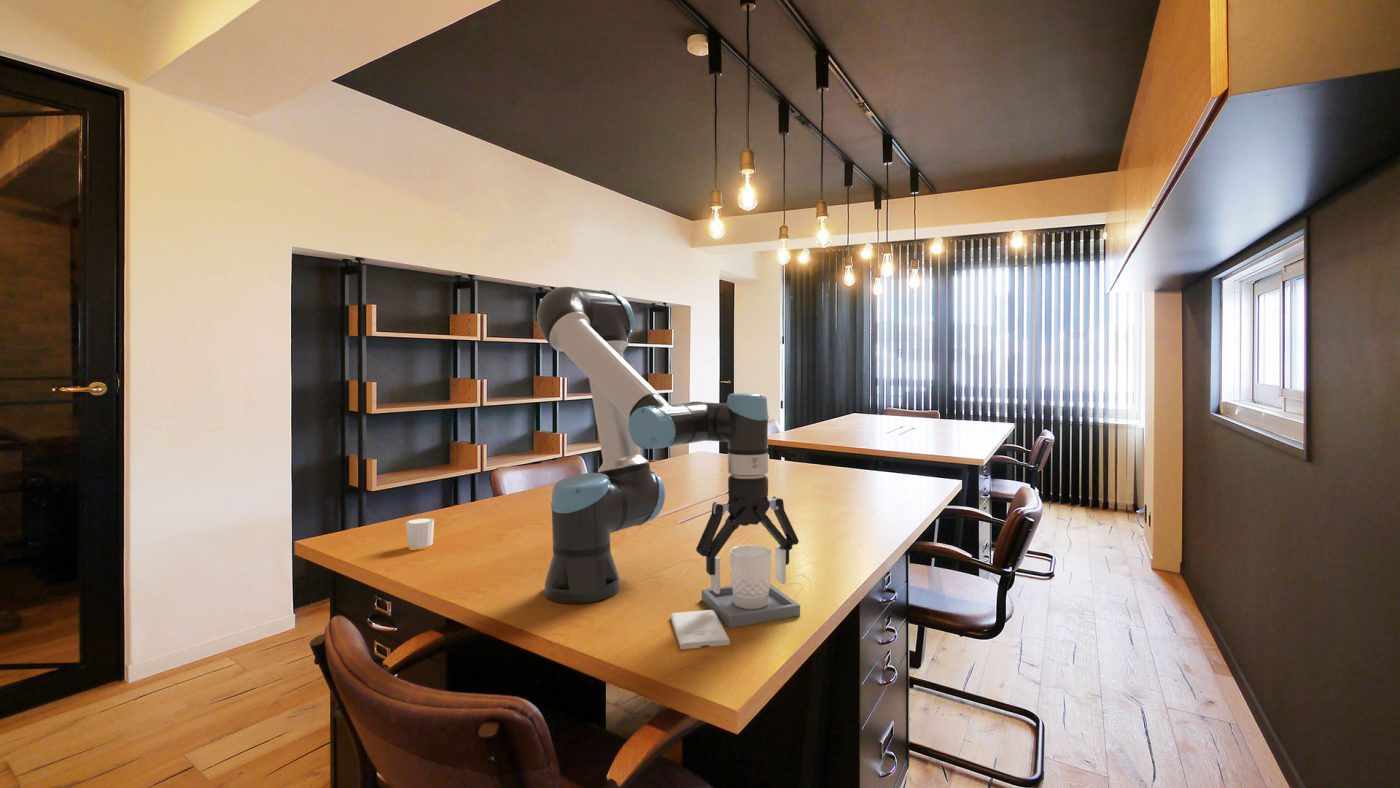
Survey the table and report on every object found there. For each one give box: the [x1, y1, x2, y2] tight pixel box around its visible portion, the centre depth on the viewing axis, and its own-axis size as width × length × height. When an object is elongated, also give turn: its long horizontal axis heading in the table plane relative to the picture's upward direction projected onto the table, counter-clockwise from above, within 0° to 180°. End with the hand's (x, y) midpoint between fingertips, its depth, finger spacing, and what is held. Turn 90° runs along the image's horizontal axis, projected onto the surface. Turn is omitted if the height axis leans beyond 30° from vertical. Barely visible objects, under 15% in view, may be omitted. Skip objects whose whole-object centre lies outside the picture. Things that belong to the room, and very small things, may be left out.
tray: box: [701, 583, 801, 629], centre depth 115 cm, size 14×14×2 cm
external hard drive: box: [670, 609, 731, 650], centre depth 105 cm, size 2×8×12 cm
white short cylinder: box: [405, 517, 435, 548], centre depth 157 cm, size 7×7×7 cm
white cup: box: [729, 544, 772, 609], centre depth 115 cm, size 8×8×10 cm
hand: (748, 586), depth 115 cm, fingers open, 13 cm apart
